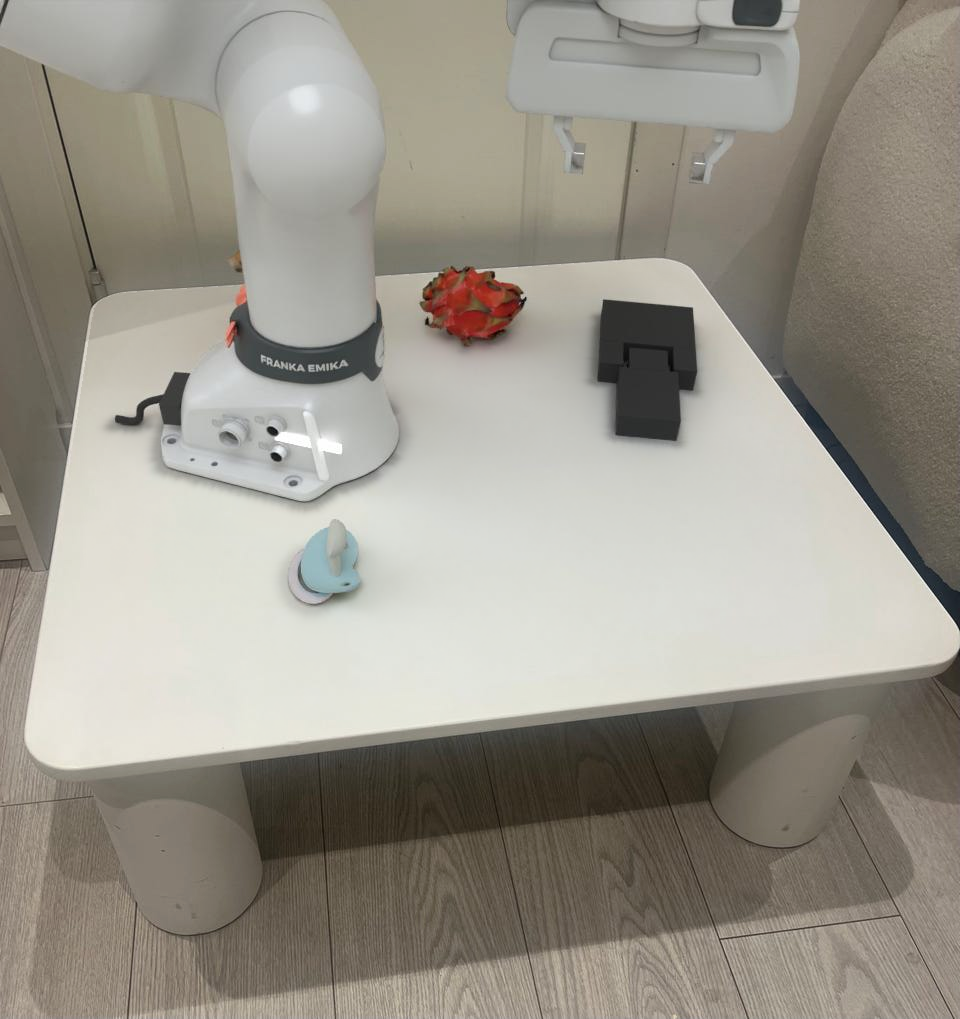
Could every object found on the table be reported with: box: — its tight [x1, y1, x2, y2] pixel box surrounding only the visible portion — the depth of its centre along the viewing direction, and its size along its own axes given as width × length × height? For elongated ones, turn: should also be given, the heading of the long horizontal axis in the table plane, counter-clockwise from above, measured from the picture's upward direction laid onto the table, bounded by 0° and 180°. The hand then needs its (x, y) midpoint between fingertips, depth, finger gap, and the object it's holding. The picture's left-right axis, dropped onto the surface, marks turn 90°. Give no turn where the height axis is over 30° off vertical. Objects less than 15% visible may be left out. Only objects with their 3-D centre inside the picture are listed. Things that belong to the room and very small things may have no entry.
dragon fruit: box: [418, 265, 528, 346], centre depth 109 cm, size 8×8×12 cm
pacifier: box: [287, 518, 361, 605], centre depth 83 cm, size 7×6×6 cm
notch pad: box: [596, 298, 698, 391], centre depth 109 cm, size 12×10×2 cm
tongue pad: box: [615, 348, 682, 441], centre depth 103 cm, size 12×6×2 cm, turn 174°
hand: (635, 175), depth 77 cm, fingers open, 8 cm apart
